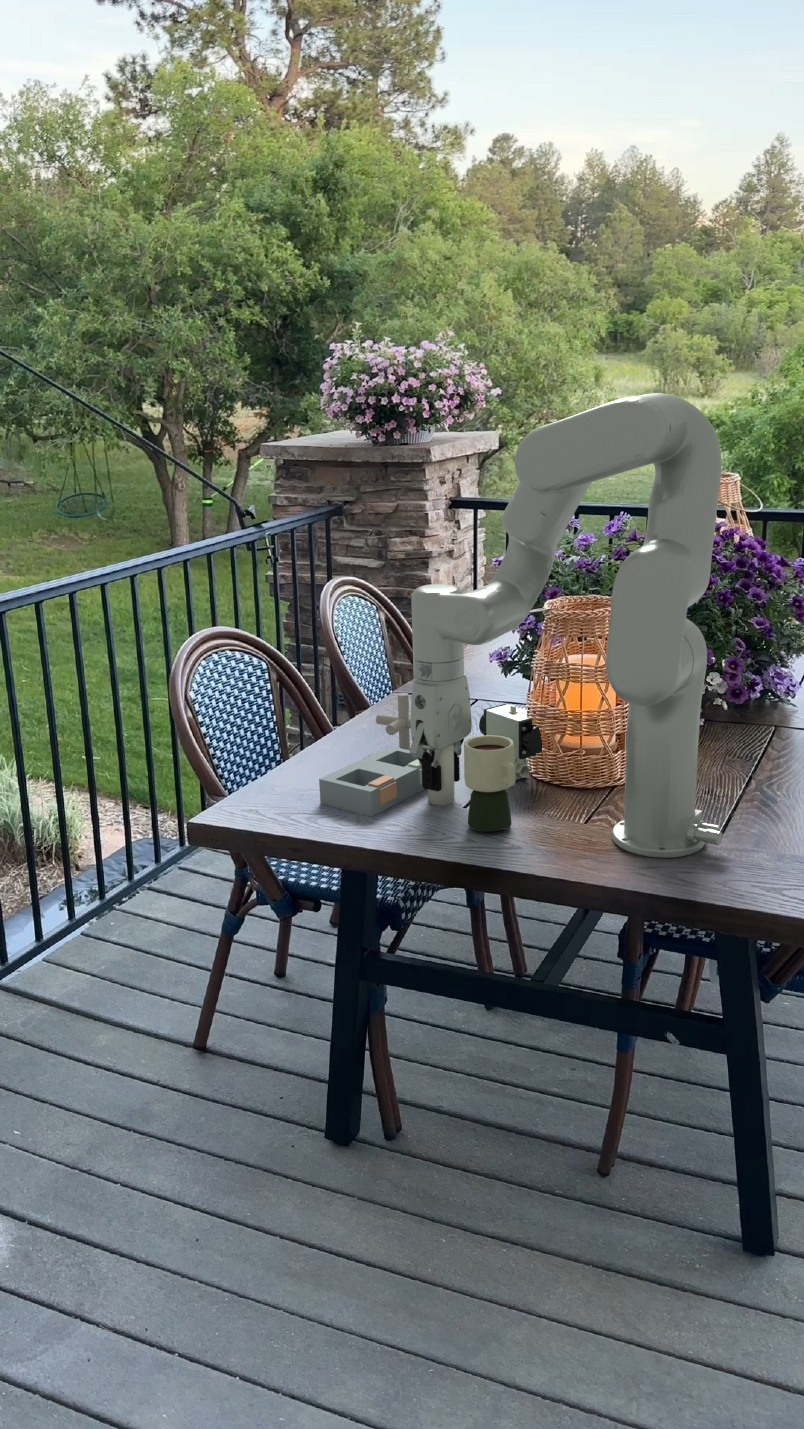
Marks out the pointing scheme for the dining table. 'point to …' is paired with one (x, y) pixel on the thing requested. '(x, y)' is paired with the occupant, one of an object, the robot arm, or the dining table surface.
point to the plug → (444, 778)
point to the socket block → (373, 782)
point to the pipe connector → (399, 721)
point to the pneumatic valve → (513, 733)
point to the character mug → (489, 781)
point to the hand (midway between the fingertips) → (441, 783)
